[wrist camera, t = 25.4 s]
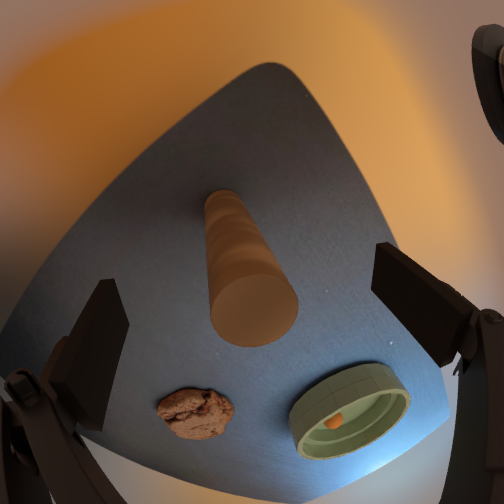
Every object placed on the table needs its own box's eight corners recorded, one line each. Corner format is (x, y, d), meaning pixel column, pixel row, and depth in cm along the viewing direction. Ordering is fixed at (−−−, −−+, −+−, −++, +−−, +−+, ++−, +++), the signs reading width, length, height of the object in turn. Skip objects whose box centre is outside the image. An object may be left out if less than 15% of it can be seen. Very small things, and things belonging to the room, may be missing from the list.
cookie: (173, 432, 35) (173, 448, 32) (147, 390, 31) (145, 408, 28) (239, 424, 36) (242, 440, 33) (226, 380, 32) (229, 399, 29)
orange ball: (336, 417, 34) (331, 404, 37) (321, 429, 35) (317, 415, 37) (349, 423, 35) (343, 410, 38) (334, 434, 35) (329, 421, 38)
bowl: (404, 345, 35) (425, 372, 30) (378, 413, 43) (391, 436, 37) (287, 378, 33) (301, 415, 28) (286, 441, 40) (294, 469, 35)
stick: (240, 186, 23) (298, 268, 10) (244, 223, 25) (298, 339, 11) (201, 191, 23) (203, 282, 9) (206, 228, 24) (217, 353, 11)
